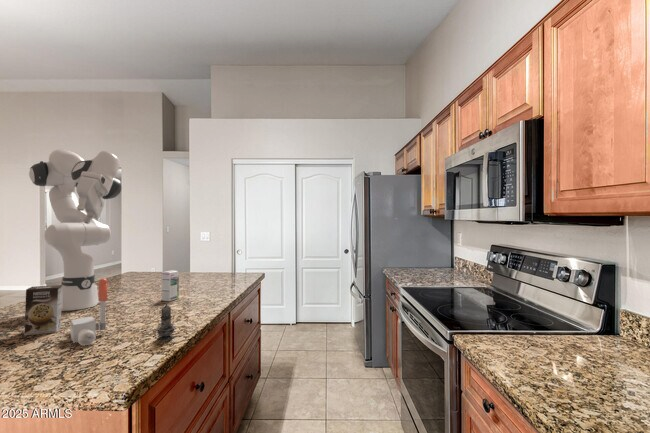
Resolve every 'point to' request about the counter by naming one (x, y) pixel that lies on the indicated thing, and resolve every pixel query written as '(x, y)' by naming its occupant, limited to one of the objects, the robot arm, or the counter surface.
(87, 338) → the valve
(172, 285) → the syrup box
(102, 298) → the lever
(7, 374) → the counter surface
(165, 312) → the grey chess pawn
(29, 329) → the cookie box
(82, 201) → the robot arm
